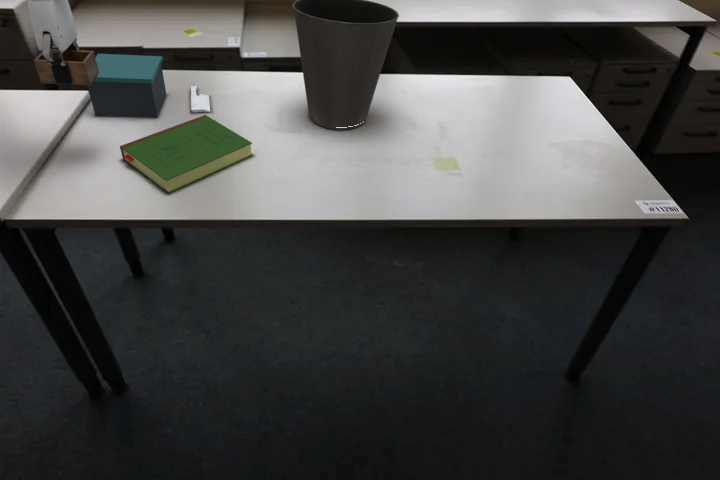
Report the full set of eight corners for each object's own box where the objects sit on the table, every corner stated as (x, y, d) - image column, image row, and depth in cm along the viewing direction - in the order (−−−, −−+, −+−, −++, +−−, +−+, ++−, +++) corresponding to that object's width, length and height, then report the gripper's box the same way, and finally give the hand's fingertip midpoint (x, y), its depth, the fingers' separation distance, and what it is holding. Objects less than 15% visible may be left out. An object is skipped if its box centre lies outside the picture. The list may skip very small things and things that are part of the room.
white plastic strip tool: (208, 88, 156) (208, 85, 155) (210, 112, 145) (209, 108, 144) (191, 88, 154) (190, 85, 154) (191, 112, 144) (190, 109, 143)
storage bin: (92, 116, 138) (81, 76, 130) (107, 91, 149) (98, 53, 142) (158, 118, 140) (151, 79, 133) (168, 93, 151) (162, 56, 144)
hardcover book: (206, 127, 139) (205, 114, 136) (252, 155, 130) (252, 142, 128) (120, 160, 123) (116, 147, 121) (165, 195, 115) (162, 181, 113)
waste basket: (381, 102, 159) (394, 0, 139) (388, 136, 144) (404, 26, 124) (293, 97, 156) (294, -8, 137) (290, 131, 141) (290, 18, 121)
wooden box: (41, 83, 110) (33, 60, 107) (52, 70, 115) (45, 48, 111) (90, 85, 111) (84, 63, 108) (99, 73, 116) (93, 51, 113)
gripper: (41, -26, 107) (65, 59, 119) (5, 0, 94) (36, 92, 106) (79, -23, 108) (99, 60, 119) (49, 3, 95) (75, 94, 107)
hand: (70, 74), depth 112 cm, fingers closed on wooden box, 6 cm apart
